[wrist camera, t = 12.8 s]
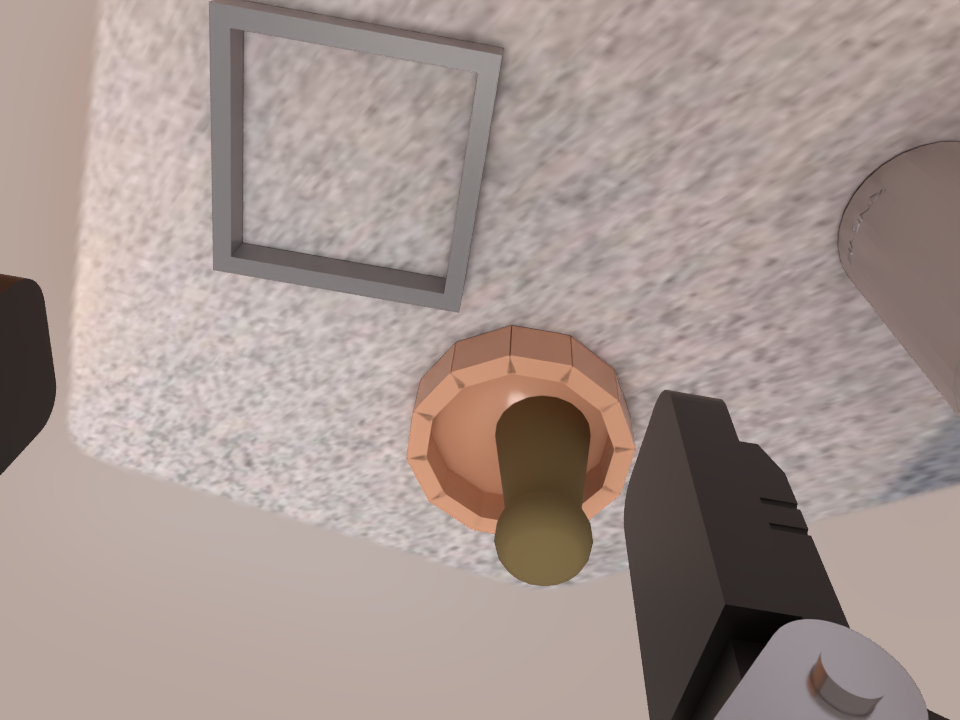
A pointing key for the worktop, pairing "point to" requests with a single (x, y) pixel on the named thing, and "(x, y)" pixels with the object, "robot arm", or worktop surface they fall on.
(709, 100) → the worktop surface
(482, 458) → the bowl
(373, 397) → the worktop surface
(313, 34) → the rectangular frame
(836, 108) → the worktop surface
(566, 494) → the olive pestle
